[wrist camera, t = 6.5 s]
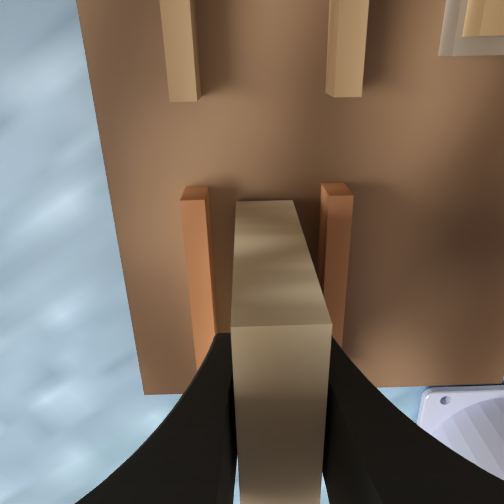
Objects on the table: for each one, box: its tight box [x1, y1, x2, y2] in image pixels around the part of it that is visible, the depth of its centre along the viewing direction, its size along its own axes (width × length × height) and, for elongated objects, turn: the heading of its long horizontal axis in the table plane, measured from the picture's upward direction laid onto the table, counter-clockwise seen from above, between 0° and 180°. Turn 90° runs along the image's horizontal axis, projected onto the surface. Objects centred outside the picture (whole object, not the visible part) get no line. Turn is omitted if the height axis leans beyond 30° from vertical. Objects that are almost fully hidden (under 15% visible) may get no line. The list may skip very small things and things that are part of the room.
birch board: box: [231, 200, 332, 504], centre depth 13 cm, size 2×7×8 cm, turn 1°
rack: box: [76, 0, 504, 395], centre depth 14 cm, size 16×22×3 cm
